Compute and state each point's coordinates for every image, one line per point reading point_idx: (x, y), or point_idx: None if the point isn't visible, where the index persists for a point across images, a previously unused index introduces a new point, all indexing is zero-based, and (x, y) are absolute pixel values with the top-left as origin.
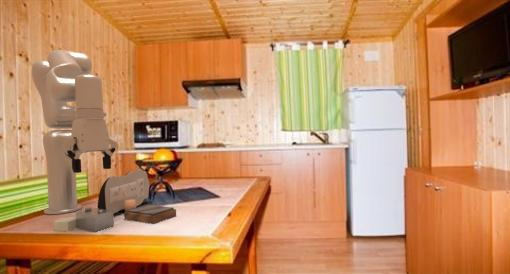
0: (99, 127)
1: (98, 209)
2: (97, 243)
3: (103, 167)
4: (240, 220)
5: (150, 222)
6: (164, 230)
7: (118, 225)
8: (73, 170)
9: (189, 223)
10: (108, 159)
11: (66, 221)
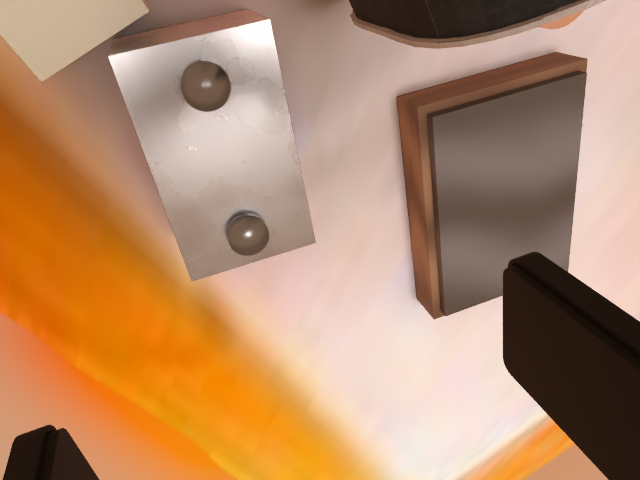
0: None
1: (270, 120)
2: (141, 392)
3: (514, 280)
4: (566, 441)
5: (417, 284)
6: (384, 397)
7: (315, 196)
8: (16, 463)
9: (483, 378)
10: (601, 467)
11: (36, 50)
